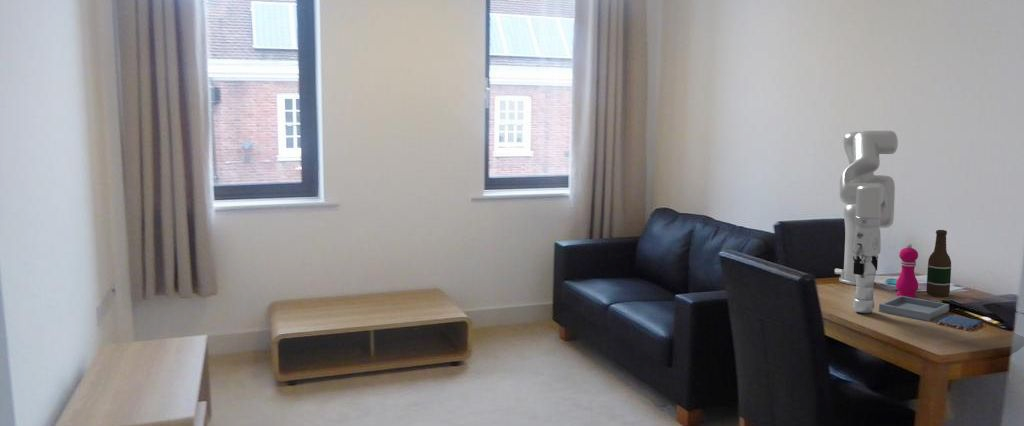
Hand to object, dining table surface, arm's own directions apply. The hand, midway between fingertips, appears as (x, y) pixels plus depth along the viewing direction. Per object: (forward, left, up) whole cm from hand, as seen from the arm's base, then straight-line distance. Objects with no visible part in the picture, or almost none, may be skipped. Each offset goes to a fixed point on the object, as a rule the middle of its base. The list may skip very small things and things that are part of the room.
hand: (865, 272), depth 246 cm
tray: (+11, +13, -14) cm, 22 cm away
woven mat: (+27, +8, -15) cm, 32 cm away
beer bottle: (+8, +41, -14) cm, 45 cm away
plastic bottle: (0, 0, -14) cm, 14 cm away
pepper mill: (+2, +29, -14) cm, 33 cm away
